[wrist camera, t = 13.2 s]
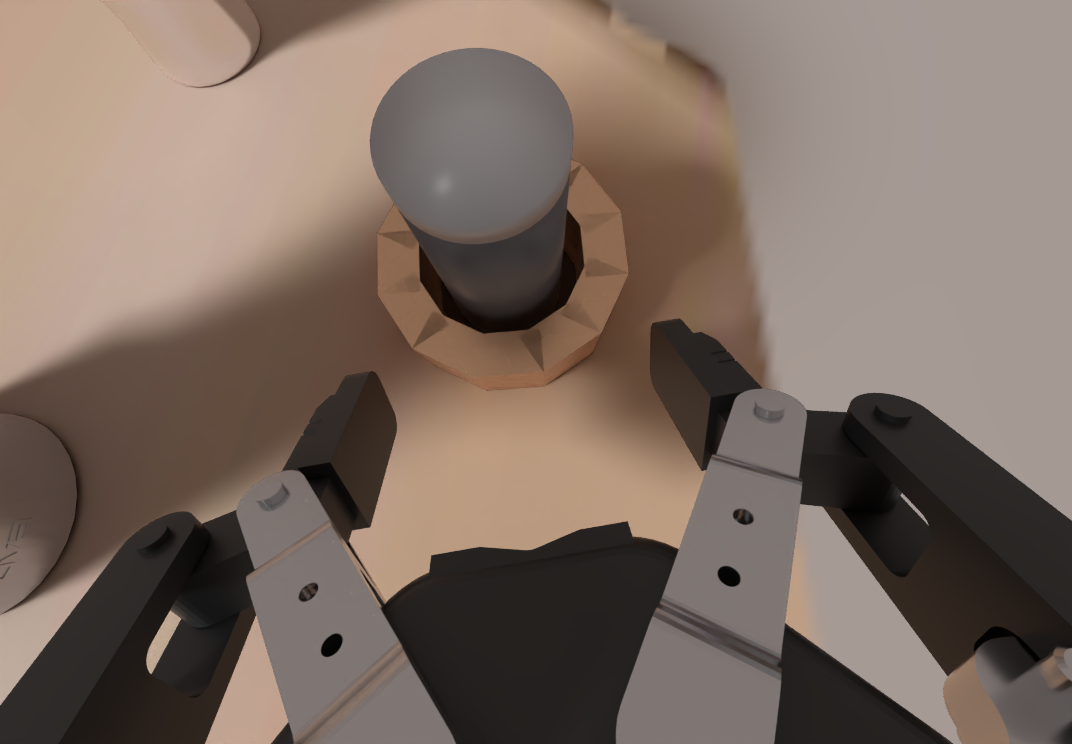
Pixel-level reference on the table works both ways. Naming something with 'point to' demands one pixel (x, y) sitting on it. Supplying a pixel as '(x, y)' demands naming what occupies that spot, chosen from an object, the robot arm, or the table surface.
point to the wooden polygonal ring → (512, 354)
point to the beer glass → (192, 36)
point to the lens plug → (481, 179)
